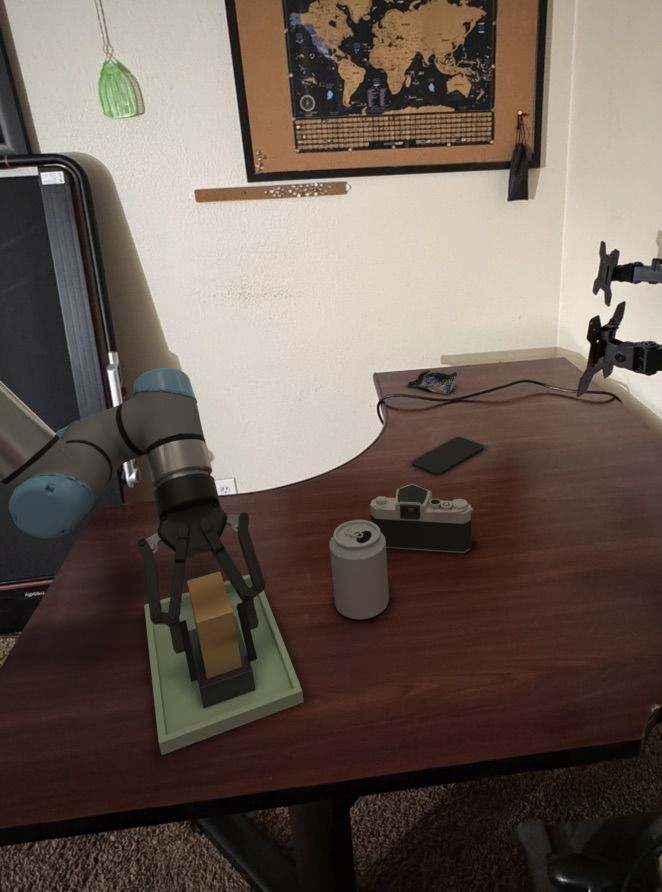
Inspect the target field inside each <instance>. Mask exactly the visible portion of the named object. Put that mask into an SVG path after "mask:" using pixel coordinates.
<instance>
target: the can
mask: <svg viewBox="0 0 662 892" xmlns="http://www.w3.org/2000/svg"><path fill="white" fill-rule="evenodd" d="M332 535H333V536H332V537H331V539H330V541H329V555H330V565H331V576H332V588H333V596H334V597H333V600H334V607H335V609H336V610H337V612H338V613H339V614H341V615H342V616H343V617H346V618H349V619H351V620H368V619H370V618H374V617H376V616H378V615H379V614H381V613H383V612H384V611H385V609H386V608H387V607H388V605H389V601H390V593H389V575H388V557H387V556H388V555H387V548H386V541H385V537H384V535H383V534H382V533H381V532H380V528H379V527H378V526H377V525H376V524H374V523H372V522H371V520H366V519H354V520H349V521H345V522H343V523H341V524H339V525H338V526H337V527H336V528H335V529H334V531H333V534H332Z"/></svg>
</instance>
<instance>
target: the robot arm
mask: <svg viewBox="0 0 662 892" xmlns="http://www.w3.org/2000/svg"><path fill="white" fill-rule="evenodd" d="M132 389H133V392H132V395H133V397H132V398H130V399H127V400H125V401H124V402H122V403H120V404H118V405H115V406H113V407H110V408H108V409H105V410H102V411H100V412H98V413H97V412H96V413H94V414H93V415H89V416H87V417H85V418H81V419H76V420H74V421H72V422H71V423H70V424H69V425H67V426H65V427H62V428H60V429H58V430H57V431H56V432H55V431H54V430H53V429H52V428H51V427H50V426H48V425H47V424H46V423H45V422H44V421H43V420H42V419H41V418H40V417H39V416H38V415H37V414H36V413H35V412H33V410H31V408H29V407H28V405H26V404H25V402H23V401H22V400H21V398H19V397H18V396H17V395H16V394H15V393H14V392H13V391H12V390H11V389H10V388H9V387H8V386H7V385H5V384H4V383H3V381H1V380H0V482H1V483H2V484H3V485H4V486H5V487H6V488H7V489H8V490H9V491H10V492H12V494H11V496H10V499H9V502H8V511H9V514H10V515H11V518H12V520H13V523H14V525H15V526H16V527H17V528H18V529H19V530H21V531H22V532H23V533H25V534H27V535H29V536H32V537H34V538H37V539H42V540H45V539H47V540H51V539H57V538H58V539H59V538H61V537H64V536H65V535H68V534H70V533H71V532H73V530H74V529H75V528H76V527H77V526H78V525H79V523H80V522H81V521H82V520H83V519H84V518H85V517H86V516H88V515H89V513H90V512H91V510H92V509H93V508H94V505H95V503H96V501H97V500H98V498H99V497H100V495H101V494H102V492H103V491H104V489H105V488H106V487H107V486H108V485H109V483H110V481H111V480H112V479H113V477H114V476H115V475H116V474H117V472H118V470H119V469H120V468H121V466H122V465H124V464H126V463H127V462H130V461H132V460H134V459H138V458H140V457H142V456H144V455H146V460H147V466H148V470H149V475H150V481H151V485H152V487H154V488H155V490H154V491H153V495H154V500H155V505H156V511H157V516H158V521H159V523H158V527H157V529H156V532H155V533H154V534H151V535H150V536H148V537H147V538H143V537H142V538H139V539H138V540H137V542H136V546H137V547H136V548H137V550H138V552H139V554H140V555H141V557H142V559H143V564H144V573H145V583H146V592H147V600H148V604H149V611H150V619H151V621H152V623H153V624H155V625H158V624H162V625H167V626H168V627H169V628H170V633H171V639H172V644H173V649H174V651H175V653H176V654H179V653H182V652H185V654H186V659H187V664H188V669H189V674H190V680H191V682H193V681H196V680H198V678H197V673H196V668H195V663H194V658H193V653H192V648H191V642H190V637H189V632H188V627H187V622H186V620H184V621H181V622H180V620H179V618H180V609H181V601H182V594H183V593H184V592H183V591H184V581H185V572H186V566H187V558H191V557H194V556H196V555H197V554H206V553H209V552H211V554H212V556H213V557H214V558H215V560H216V561H217V563H218V564H219V566H220V568H221V570H222V571H223V573H224V575H225V576H226V578H227V579H228V580H229V581H230V583H231V584H232V586H233V588H234V589H235V591H236V592H237V594H238V596H239V597H240V599H241V601H242V603H239V604H237V611H238V616H239V620H240V624H241V629H242V633H243V637H244V642H245V646H246V650H247V654H248V657H249V661H250V662H251V661H254V660H256V659H257V655H256V651H255V647H254V643H253V638H252V634H251V630H252V629H255V628H257V627H258V618H257V614H256V610H255V605H254V598H255V597H256V596H257V595H258V594H260V593H261V592H263V590H264V591H265V588H266V582H265V581H266V580H265V578H264V575H263V572H262V569H261V565H260V562H259V560H258V556H257V553H256V550H255V547H254V544H253V541H252V538H251V534H250V531H249V524H250V523H249V521H250V520H249V519H250V516H249V513H247V512H244V511H243V512H241V513H240V514H227V512H226V511H225V510H224V509H223V507H222V505H221V502H220V497H219V492H218V489H217V483H216V480H215V477H213V476H212V475H211V474H212V473H213V468H212V463H211V459H210V455H209V449H208V446H207V442H206V438H205V434H204V431H203V426H202V421H201V417H200V412H199V408H198V399H197V397H196V396H195V392H194V389H193V386H192V382H191V379H190V377H189V375H188V374H187V373H186V372H184V371H182V370H181V369H178V368H172V367H160V368H154V369H150V370H148V371H145V372H143V373H142V374H140V376H139V377H137V378H136V379H135V380H134V382H133V388H132ZM226 525H229V526H230V529H231V531H232V532H233V533H234V534H235V533H236V534H237V539H238V543H239V547H240V549H241V553H242V556H243V559H244V562H245V565H246V568H247V569H246V570H247V571H248V575H250V578H251V581H252V586H251V587H250V588H249V587H248V586H247V584H246V582H245V581H244V579H243V577H242V576H243V575H242V574H241V572H240V571H239V569H238V568H237V566H236V564H235V562H234V561H233V559H232V557H231V556H230V554H229V552H228V551H227V549H226V547H225V545H224V544H223V542H222V541H221V537H222V535H223V532H224V530H225V528H226ZM161 542H162V543H163V544H164V545H165V546H167V547H168V548H169V549H170V550H172V551H173V552H174V562H173V570H172V571H173V573H172V580H171V588H170V596H169V598H170V603H169V611H168V612H162V610H161V601H160V600H161V595H160V594H161V593H160V585H159V577H158V576H159V575H158V567H157V560H156V557H155V555H157V554H158V553H159V544H160V543H161Z"/></svg>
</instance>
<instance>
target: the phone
mask: <svg viewBox="0 0 662 892" xmlns="http://www.w3.org/2000/svg"><path fill="white" fill-rule="evenodd" d="M483 451H484V445H483V444H481V443H478V442H476V441H473V440H470V439H468V438H464V437H461V436H456V437H454V438H452V439H449V440H448V441H446V442H444V443H442V444H441V445H439V446H437V447H435V448H434V449H431V450H430V451H428V452H426V453H424V454H422V455H420V456H419V457H417V458H415V459H413V460H412V462H411V464H412V466H413V467H415V468H416V469H419V470H422V471H424V472H427V473H429V474H432V475H434V476H440V475H443V474H445V473H447V472H449V471H451V470H452V469H454V468H455V467H457V466H459V465H461V464H462V463H464V462H466V461H467V460H469V459H471V458H473V457H474V456H476V455H478V454H480V453H481V452H483Z"/></svg>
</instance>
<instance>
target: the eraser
mask: <svg viewBox="0 0 662 892" xmlns="http://www.w3.org/2000/svg"><path fill="white" fill-rule="evenodd" d="M224 582H225V581H224V578H223V574H222V572H221V570H220V571H216V572H212V573H209V574H205V575H202V576H198V577H195V578H191V579H189V580H187V581H186V584H187V590H188V592H189V594H190V599H191V604H192V610H193V615H194V620H195V625H196V628H195V629H192V630H189V631H188V632H189V637H190V642H191V648H192V653H193V658H194V663H195V668H196V673H197V678H198V684H199V689H200V694H201V699H202V704H203V708H207V707H210V706H213V705H215V704H218V703H221V702H224V701H226V700H229V699H232V698H235V697H237V696H240V695H243V694H246V693H248V692H251V691H254V690H256V689H255V682H254V676H253V670H252V667H251V663H250V661H249V657H248V654H247V651H246V647H245V644H244V641H243V638H242V635H241V632H240V628H239V625H238V622H237V619H236V616H234V614H233V610H232V607H231V603H230V600H229V597H228V594H227V591H226V587H225V584H224Z"/></svg>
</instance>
